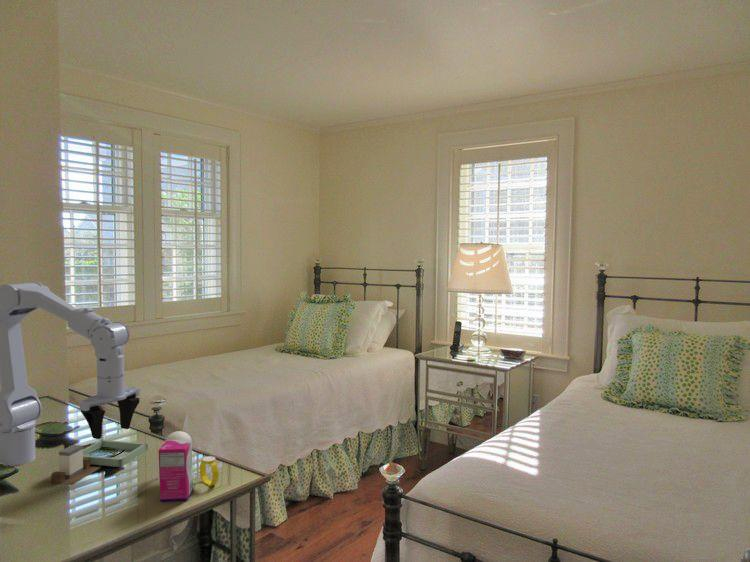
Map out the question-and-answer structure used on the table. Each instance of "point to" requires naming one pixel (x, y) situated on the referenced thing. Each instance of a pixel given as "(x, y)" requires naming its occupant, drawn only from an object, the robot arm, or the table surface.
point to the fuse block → (60, 476)
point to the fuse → (71, 460)
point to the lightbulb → (178, 436)
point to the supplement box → (175, 470)
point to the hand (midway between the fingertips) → (111, 433)
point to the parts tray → (117, 462)
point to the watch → (211, 462)
